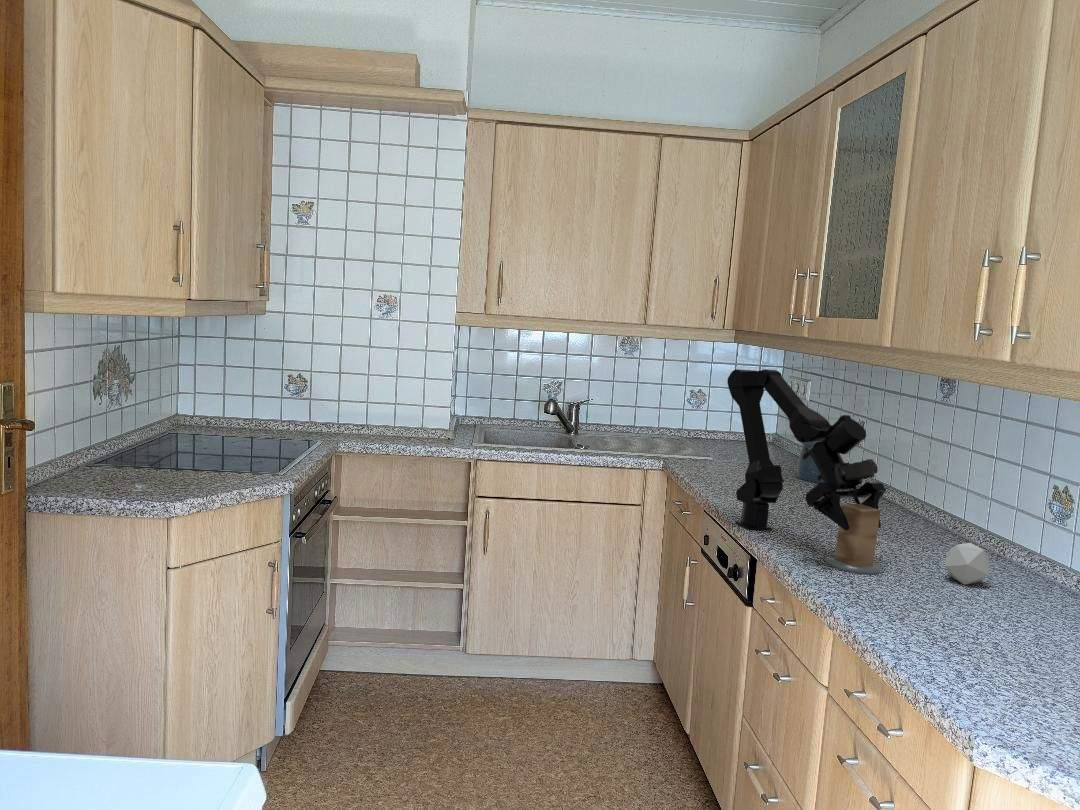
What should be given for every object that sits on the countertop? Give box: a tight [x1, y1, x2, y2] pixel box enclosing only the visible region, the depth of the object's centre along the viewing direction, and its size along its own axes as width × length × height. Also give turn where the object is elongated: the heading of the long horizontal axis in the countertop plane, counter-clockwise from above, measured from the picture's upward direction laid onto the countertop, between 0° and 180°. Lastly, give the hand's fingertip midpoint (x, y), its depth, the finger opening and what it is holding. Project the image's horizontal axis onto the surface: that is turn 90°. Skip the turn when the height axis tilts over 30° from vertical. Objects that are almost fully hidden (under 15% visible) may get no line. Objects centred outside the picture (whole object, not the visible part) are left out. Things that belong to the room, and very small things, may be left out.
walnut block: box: [834, 503, 882, 567], centre depth 185 cm, size 6×6×12 cm
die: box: [944, 542, 991, 586], centre depth 181 cm, size 8×9×10 cm
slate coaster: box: [825, 554, 882, 575], centre depth 185 cm, size 11×11×1 cm
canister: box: [796, 442, 841, 484], centre depth 285 cm, size 13×13×18 cm
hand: (863, 528), depth 183 cm, fingers open, 9 cm apart
